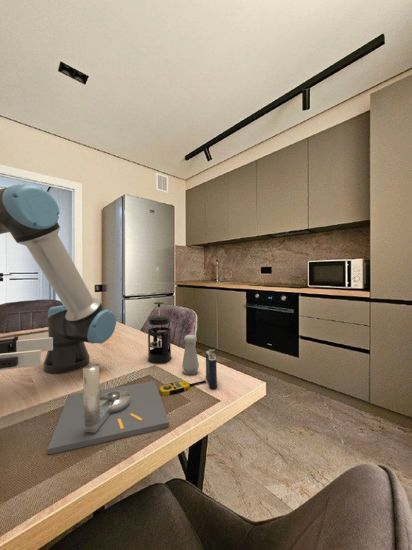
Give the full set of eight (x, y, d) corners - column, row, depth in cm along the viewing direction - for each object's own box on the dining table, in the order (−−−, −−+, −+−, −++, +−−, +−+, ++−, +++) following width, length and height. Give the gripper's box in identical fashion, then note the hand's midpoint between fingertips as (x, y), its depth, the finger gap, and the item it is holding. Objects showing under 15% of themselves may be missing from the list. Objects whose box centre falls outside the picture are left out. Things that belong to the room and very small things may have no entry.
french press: (143, 357, 101) (142, 301, 100) (165, 353, 106) (164, 299, 105) (154, 367, 91) (153, 305, 90) (177, 361, 96) (176, 303, 96)
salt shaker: (196, 376, 83) (196, 338, 82) (180, 375, 84) (179, 337, 84) (200, 369, 88) (200, 333, 88) (185, 368, 90) (184, 332, 89)
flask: (205, 376, 82) (205, 345, 82) (213, 376, 83) (213, 344, 83) (209, 390, 73) (209, 354, 73) (219, 389, 74) (219, 354, 73)
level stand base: (68, 399, 69) (68, 394, 69) (155, 384, 77) (155, 380, 77) (47, 455, 48) (47, 448, 48) (169, 427, 56) (169, 421, 56)
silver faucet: (106, 395, 68) (105, 346, 68) (134, 396, 67) (133, 347, 67) (70, 433, 52) (68, 369, 52) (106, 435, 52) (105, 371, 51)
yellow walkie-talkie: (157, 384, 74) (202, 374, 80) (157, 391, 74) (202, 380, 81) (162, 392, 69) (209, 380, 76) (162, 398, 70) (209, 386, 76)
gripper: (-64, 365, 52) (59, 351, 60) (-174, 423, 32) (30, 392, 40) (-65, 329, 52) (58, 321, 60) (-177, 367, 32) (28, 347, 40)
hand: (46, 350), depth 50 cm, fingers open, 8 cm apart
